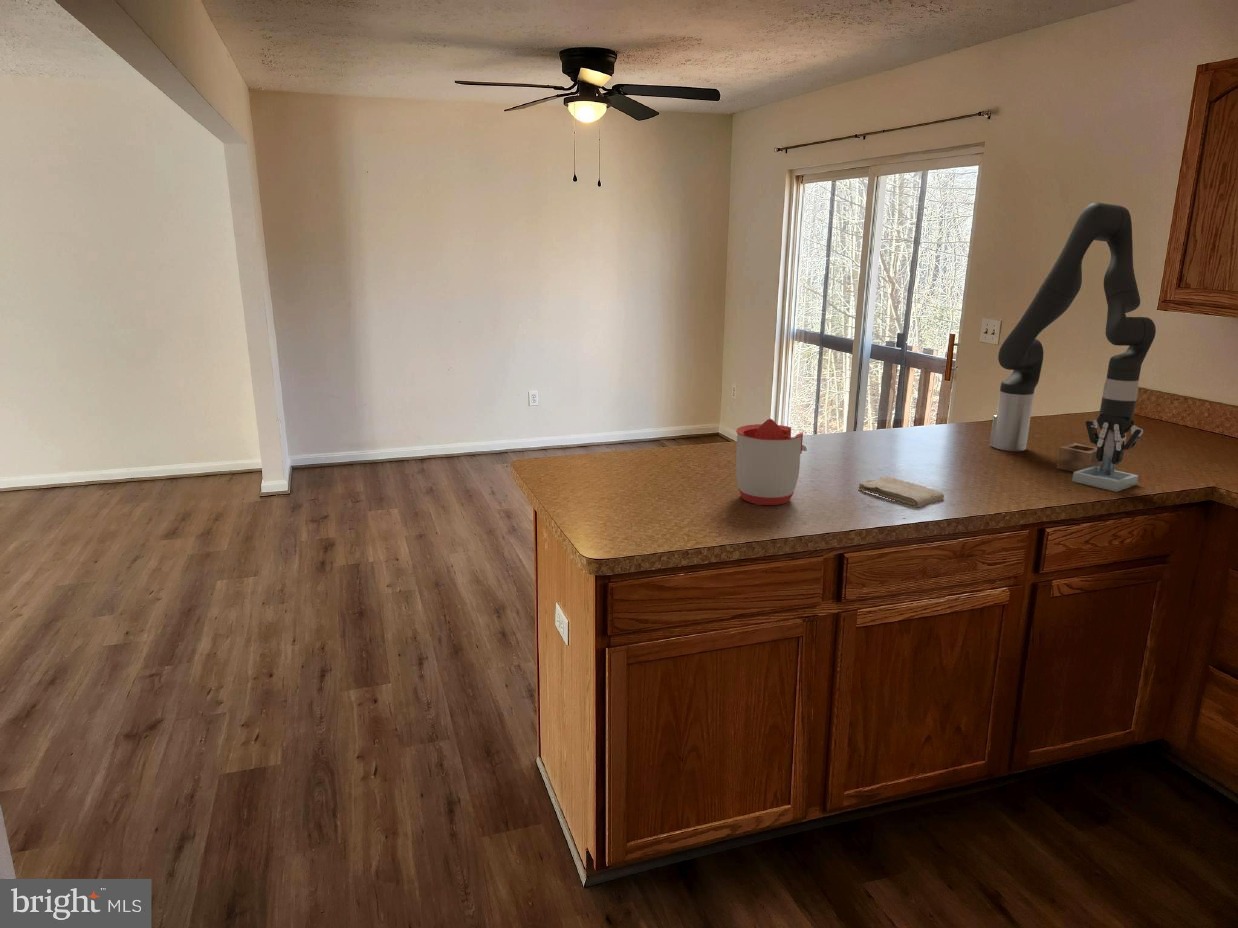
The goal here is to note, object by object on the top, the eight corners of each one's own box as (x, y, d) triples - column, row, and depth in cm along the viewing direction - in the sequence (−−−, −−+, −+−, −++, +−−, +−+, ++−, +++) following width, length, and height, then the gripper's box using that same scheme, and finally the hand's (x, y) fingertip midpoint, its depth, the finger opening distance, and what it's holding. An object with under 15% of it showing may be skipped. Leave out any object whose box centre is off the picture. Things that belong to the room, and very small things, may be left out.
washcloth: (883, 484, 211) (884, 472, 210) (946, 501, 197) (947, 489, 196) (854, 492, 204) (855, 480, 203) (917, 510, 190) (918, 498, 189)
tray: (1072, 481, 213) (1073, 472, 212) (1092, 474, 219) (1094, 465, 218) (1116, 491, 204) (1118, 482, 203) (1136, 484, 210) (1138, 475, 209)
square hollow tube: (1056, 468, 225) (1059, 447, 223) (1071, 463, 229) (1074, 443, 228) (1086, 474, 219) (1089, 453, 217) (1100, 470, 223) (1104, 449, 221)
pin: (1096, 473, 211) (1104, 428, 208) (1102, 471, 213) (1110, 426, 210) (1109, 476, 208) (1117, 430, 205) (1115, 474, 210) (1123, 429, 207)
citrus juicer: (817, 505, 192) (823, 423, 187) (750, 512, 187) (754, 427, 182) (785, 487, 206) (790, 410, 201) (722, 492, 202) (726, 413, 196)
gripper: (1083, 394, 209) (1073, 458, 213) (1142, 402, 198) (1130, 470, 202) (1097, 391, 213) (1087, 454, 217) (1156, 399, 202) (1144, 466, 206)
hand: (1108, 462), depth 210 cm, fingers closed on pin, 3 cm apart
